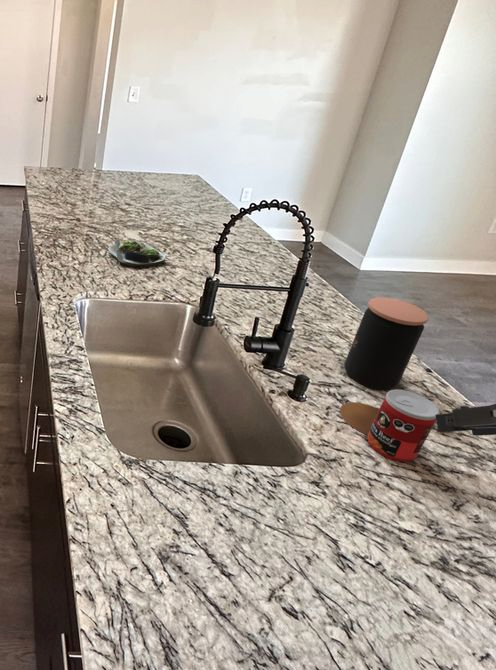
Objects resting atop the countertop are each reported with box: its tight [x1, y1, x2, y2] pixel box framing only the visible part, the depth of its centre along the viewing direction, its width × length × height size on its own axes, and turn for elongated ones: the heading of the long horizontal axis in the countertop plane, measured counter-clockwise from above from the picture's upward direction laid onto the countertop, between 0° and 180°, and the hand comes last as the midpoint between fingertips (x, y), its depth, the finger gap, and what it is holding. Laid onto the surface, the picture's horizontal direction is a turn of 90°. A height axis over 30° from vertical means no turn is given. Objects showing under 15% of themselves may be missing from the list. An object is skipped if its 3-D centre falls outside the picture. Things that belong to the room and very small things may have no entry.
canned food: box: [367, 389, 440, 463], centre depth 100 cm, size 8×8×11 cm
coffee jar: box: [344, 296, 430, 391], centre depth 119 cm, size 11×11×18 cm
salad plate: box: [108, 239, 166, 269], centre depth 179 cm, size 19×18×5 cm
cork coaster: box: [339, 402, 380, 436], centre depth 109 cm, size 11×11×1 cm
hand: (456, 425), depth 88 cm, fingers open, 4 cm apart
